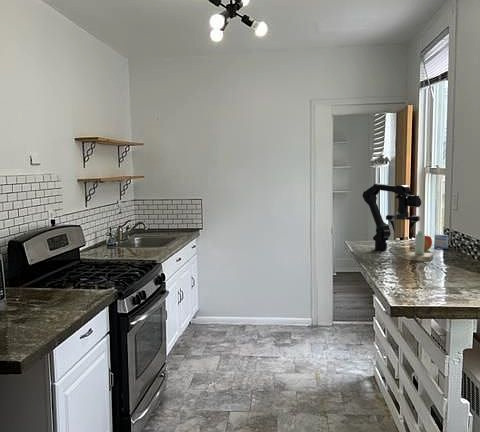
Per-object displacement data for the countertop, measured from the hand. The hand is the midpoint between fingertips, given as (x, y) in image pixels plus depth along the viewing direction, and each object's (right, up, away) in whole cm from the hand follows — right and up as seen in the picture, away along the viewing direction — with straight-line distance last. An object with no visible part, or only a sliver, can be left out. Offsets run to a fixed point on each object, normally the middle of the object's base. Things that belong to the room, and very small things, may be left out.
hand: (402, 232), depth 285 cm
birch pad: (+5, -15, -14) cm, 21 cm away
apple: (+17, -12, +10) cm, 23 cm away
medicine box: (+32, -11, +20) cm, 39 cm away
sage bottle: (+5, -12, -14) cm, 19 cm away
